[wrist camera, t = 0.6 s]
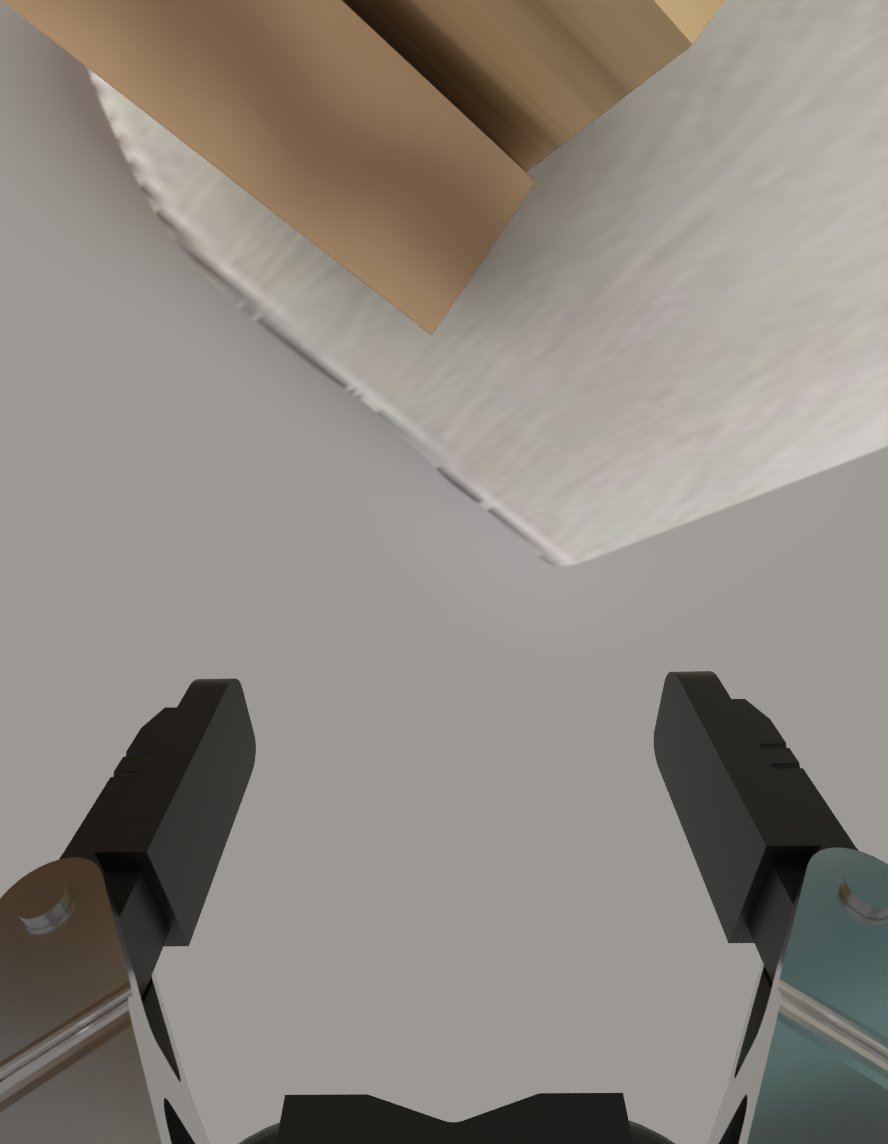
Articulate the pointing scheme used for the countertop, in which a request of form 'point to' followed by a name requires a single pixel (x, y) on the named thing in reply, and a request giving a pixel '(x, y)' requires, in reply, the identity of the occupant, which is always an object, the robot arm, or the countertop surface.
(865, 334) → the countertop surface
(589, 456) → the countertop surface
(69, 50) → the step
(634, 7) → the stand
